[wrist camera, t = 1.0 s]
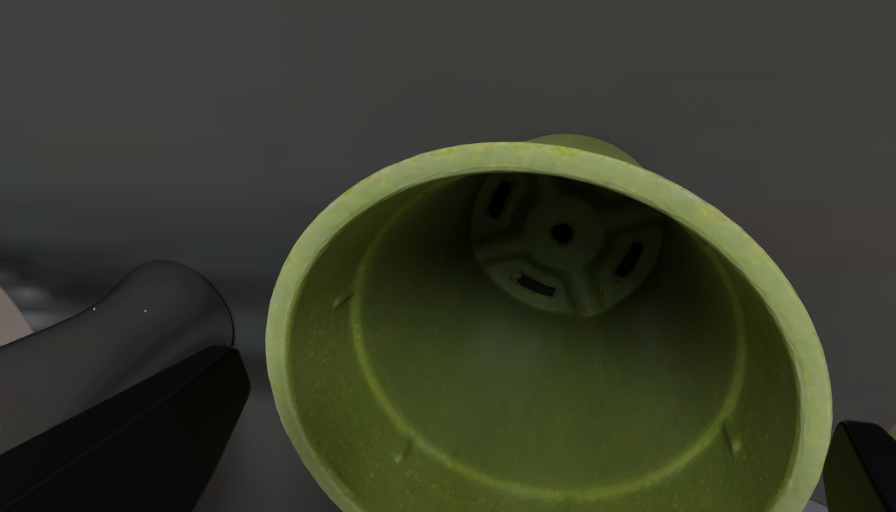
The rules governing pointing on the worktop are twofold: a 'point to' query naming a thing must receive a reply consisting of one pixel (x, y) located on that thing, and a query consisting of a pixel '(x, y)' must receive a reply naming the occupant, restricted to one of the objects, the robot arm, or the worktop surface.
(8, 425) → the beer glass
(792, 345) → the plant pot
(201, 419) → the robot arm
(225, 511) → the worktop surface
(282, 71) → the worktop surface
